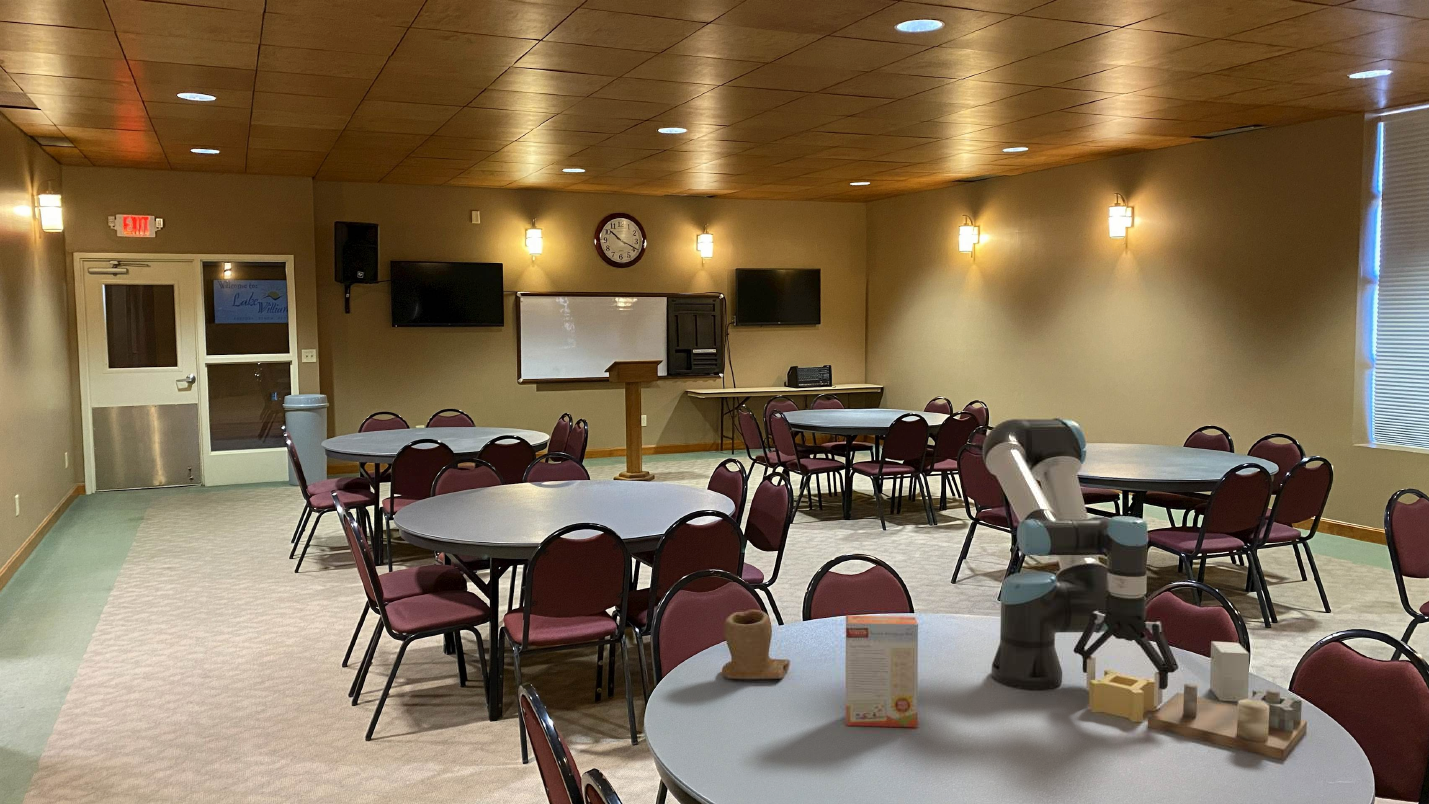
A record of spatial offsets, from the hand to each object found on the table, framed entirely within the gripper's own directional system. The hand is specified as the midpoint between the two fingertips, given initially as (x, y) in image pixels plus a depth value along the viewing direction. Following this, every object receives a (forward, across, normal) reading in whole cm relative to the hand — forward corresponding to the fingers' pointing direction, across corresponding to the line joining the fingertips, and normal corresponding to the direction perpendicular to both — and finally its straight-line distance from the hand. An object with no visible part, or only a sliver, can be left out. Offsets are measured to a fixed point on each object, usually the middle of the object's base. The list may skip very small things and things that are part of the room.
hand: (1123, 696), depth 214 cm
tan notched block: (+3, 0, 0) cm, 3 cm away
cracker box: (+3, -34, -38) cm, 51 cm away
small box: (+3, +14, +23) cm, 27 cm away
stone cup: (+3, -69, -34) cm, 77 cm away
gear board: (+3, +19, +3) cm, 19 cm away
